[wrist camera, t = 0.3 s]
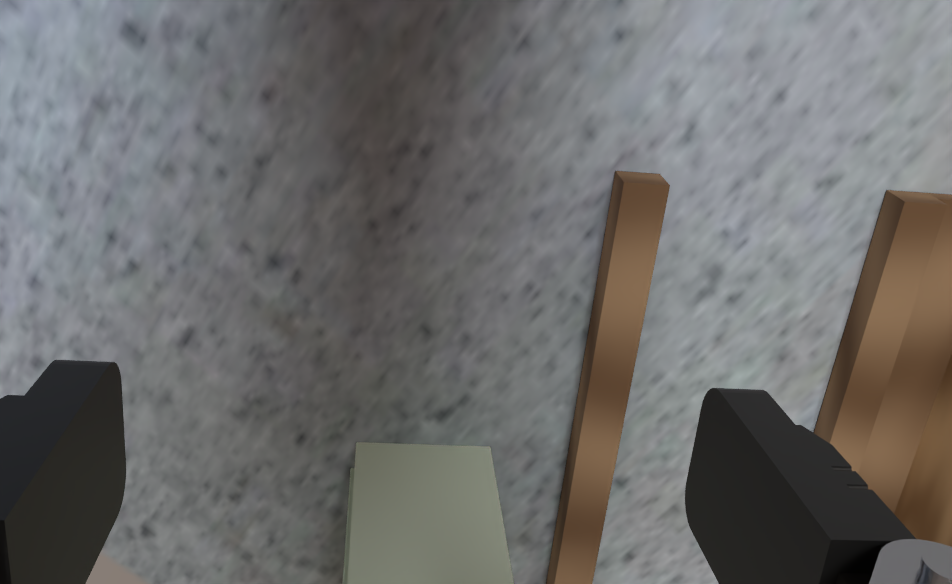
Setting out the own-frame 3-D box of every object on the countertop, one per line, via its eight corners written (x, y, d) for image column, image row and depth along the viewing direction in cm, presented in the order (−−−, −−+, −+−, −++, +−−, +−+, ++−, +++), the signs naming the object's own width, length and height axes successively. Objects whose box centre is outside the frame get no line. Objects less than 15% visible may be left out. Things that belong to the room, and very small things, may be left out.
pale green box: (352, 441, 33) (341, 599, 26) (490, 446, 34) (516, 602, 26) (345, 568, 35) (334, 745, 28) (474, 570, 36) (495, 743, 29)
